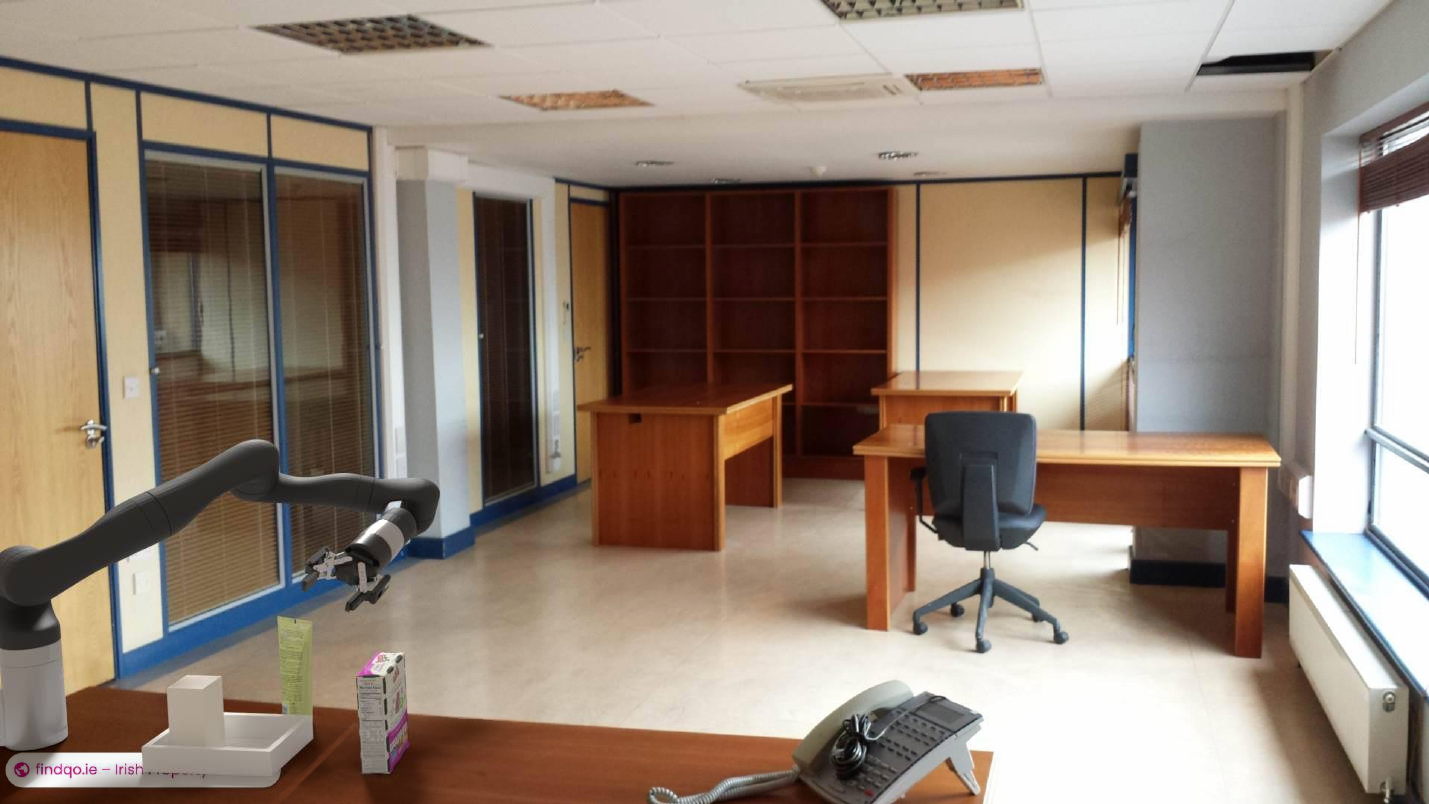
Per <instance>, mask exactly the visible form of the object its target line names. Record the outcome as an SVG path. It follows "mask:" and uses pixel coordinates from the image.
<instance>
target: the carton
mask: <svg viewBox="0 0 1429 804" xmlns="http://www.w3.org/2000/svg"><path fill="white" fill-rule="evenodd" d="M223 693H224V692H223V676H222V675H199V674H198V675H197V674H187V675H186V674H185V676H183V677H181V678H180V679H179V680H177V681H174V683H172V684H170V685H168V686H167V687H166V696H167V697H166V698H167V700H166V701H167V716H168V717H167V718H168V728H169V736H170V745H174V746H202V747H225V727H224V712H225V711H224V696H223V695H224V694H223Z"/></svg>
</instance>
